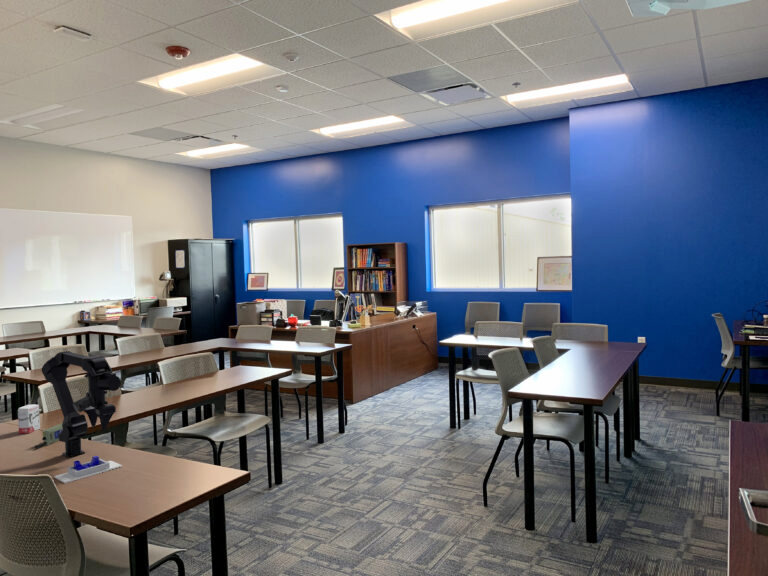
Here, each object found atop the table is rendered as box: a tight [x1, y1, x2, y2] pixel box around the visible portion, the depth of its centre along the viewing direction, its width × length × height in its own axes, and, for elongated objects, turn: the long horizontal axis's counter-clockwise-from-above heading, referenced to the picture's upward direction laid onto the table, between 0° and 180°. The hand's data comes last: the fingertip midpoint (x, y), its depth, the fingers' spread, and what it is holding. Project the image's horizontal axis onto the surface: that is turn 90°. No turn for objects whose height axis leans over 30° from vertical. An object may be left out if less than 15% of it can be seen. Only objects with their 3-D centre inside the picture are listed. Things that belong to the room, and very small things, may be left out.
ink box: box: [17, 404, 41, 435], centre depth 264 cm, size 9×5×12 cm, turn 179°
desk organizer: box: [54, 458, 123, 484], centre depth 207 cm, size 9×20×3 cm, turn 140°
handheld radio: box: [34, 422, 63, 449], centre depth 248 cm, size 7×3×25 cm
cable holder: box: [73, 455, 100, 471], centre depth 208 cm, size 8×4×4 cm, turn 138°
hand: (98, 428), depth 222 cm, fingers open, 9 cm apart
